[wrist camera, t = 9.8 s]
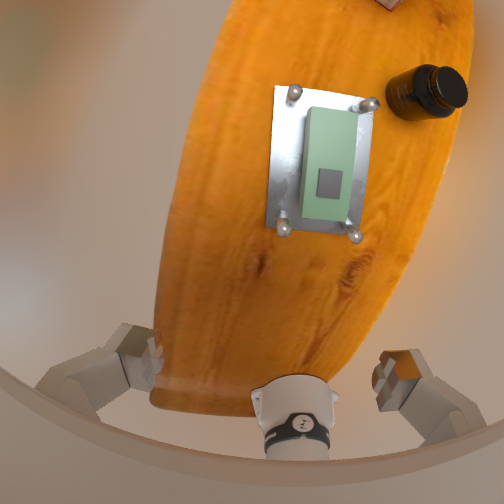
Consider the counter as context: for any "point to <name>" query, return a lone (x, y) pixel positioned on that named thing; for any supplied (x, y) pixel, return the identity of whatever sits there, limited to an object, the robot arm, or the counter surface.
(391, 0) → the cracker box
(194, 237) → the counter surface
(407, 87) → the supplement bottle
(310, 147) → the green rectangular block
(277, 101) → the chassis
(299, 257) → the counter surface
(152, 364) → the robot arm
